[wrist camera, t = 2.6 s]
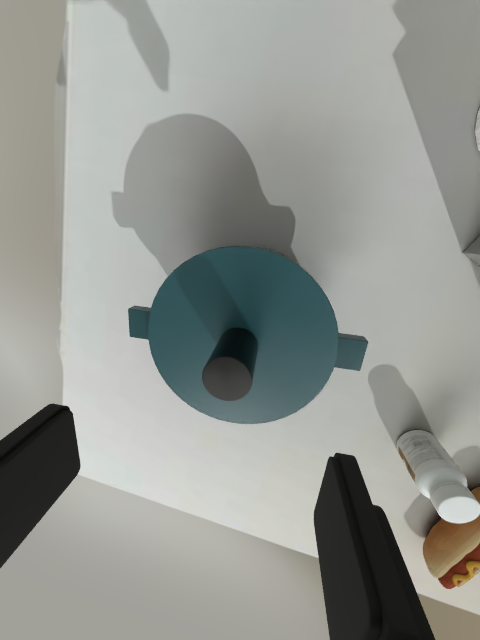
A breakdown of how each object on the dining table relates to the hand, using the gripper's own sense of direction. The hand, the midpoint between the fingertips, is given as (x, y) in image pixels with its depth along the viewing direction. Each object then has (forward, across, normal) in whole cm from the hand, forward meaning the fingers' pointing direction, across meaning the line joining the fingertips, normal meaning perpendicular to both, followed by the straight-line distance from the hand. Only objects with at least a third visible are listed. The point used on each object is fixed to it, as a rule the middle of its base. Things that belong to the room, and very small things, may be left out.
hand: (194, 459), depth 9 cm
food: (+20, -29, +24) cm, 43 cm away
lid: (+10, 0, 0) cm, 10 cm away
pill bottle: (+20, -21, +14) cm, 32 cm away
